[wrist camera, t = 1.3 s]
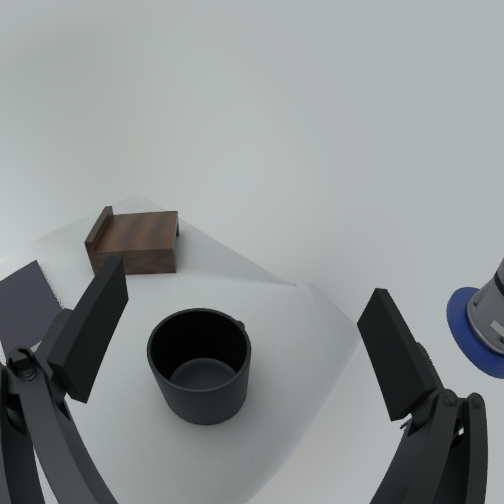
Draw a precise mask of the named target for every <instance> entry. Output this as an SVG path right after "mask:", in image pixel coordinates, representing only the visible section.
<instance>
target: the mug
mask: <svg viewBox="0 0 504 504" xmlns="http://www.w3.org/2000/svg"><path fill="white" fill-rule="evenodd" d="M244 329H245V326H244V324H243V323H242V322H241V321H236V320H235V319H233V318H232V317H231V316H229V315H227V314H225V313H222V312H220V311H217V310H212V309H205V308H194V309H187V310H182V311H179V312H176V313H174V314H172V315H170V316H168V317H167V318H165V319H164V320H162V321H161V322H160V323H159V324H158V325H157V326H156V327H155V329H154V330H153V332H152V333H151V335H150V337H149V340H148V344H147V358H148V362H149V365H150V367H151V369H152V372H153V374H154V376H155V378H156V381H157V383H158V385H159V387H160V389H161V391H162V393H163V395H164V397H165V399H166V401H167V403H168V405H169V407H170V408H171V409H172V411H173V412H174V413H175V414H176V415H178V416H179V417H181V418H182V419H184V420H186V421H188V422H191V423H195V424H201V425H211V424H217V423H220V422H223V421H225V420H227V419H229V418H231V417H232V416H233V415H235V414H236V413H237V412H238V411H239V409H240V408H241V406H242V405H243V403H244V401H245V397H246V391H247V383H248V375H249V367H250V359H251V343H250V340H249V337H248V335H247V333H246V331H245V330H244Z"/></svg>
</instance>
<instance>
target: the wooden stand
mask: <svg viewBox="0 0 504 504" xmlns="http://www.w3.org/2000/svg"><path fill="white" fill-rule="evenodd" d="M176 236H179V223H178V211H164V212H148V213H133V214H119V215H113V210H112V206H107V207H105V208H104V210H103V211H102V213H101V214H100V216H99V218H98V219H97V221H96V223H95V224H94V226H93V228H92V230H91V231H90V233H89V235H88V237H87V238H86V240H85V242H84V243H85V246H86V250H87V253H88V256H89V259H90V262H91V265H92V268H93V271H94V274H95V276H96V274H97V273H98V271H99V270H100V268H101V267H102V265H103V264H104V263H105V261H106V260H107V258H108V257H109V255H110V256H116V257H123V263H124V271H125V275H130V274H155V273H176V259H175V251H174V250H175V240H176Z"/></svg>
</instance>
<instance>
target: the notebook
mask: <svg viewBox="0 0 504 504" xmlns="http://www.w3.org/2000/svg"><path fill="white" fill-rule="evenodd" d="M61 311H62V308H61V307H60V305H59V303H58V301H57V300H56V298H55V296H54V294H53V292H52V290H51V289H50V287H49V285H48V283H47V281H46V279H45V277H44V275H43V273H42V271H41V269H40V267H39V265H38V262H37V260H35V261H33V262H31V263H30V264H28V265H26V266H25V267H23V268H21V269H19V270H18V271H16V272H14V273H13V274H11V275H10V276H8V277H6V278H5V279H3V280H2V281H0V340H1V344H2V347H3V351H4V354H5V357H6V358H7V356H8V354H9V352H10V351H11V350H12V349H13V348H15V347H17V346H26V347H29V348H30V349H31V350H32V352H33V353H34V354H35V352H36V350H37V348H38V346H39V345H40V343H41V341H42V339H43V338H44V336H45V334H46V332H48V329H49V327H50V326H51V325H52V322H53V321H54V319H55V317H56V316H57V315H58V314H59V313H60V312H61Z"/></svg>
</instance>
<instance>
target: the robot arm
mask: <svg viewBox="0 0 504 504" xmlns="http://www.w3.org/2000/svg"><path fill="white" fill-rule="evenodd" d="M128 300H129V299H128V292H127V286H126V279H125V271H124V263H123V257H116V256H110V255H109V257H108V258H107V260H106V261H105V263H104V264H103V265H102V267H101V268H100V270H99V271H98V273H97V274H96V276H95V277H94V279H93V280H92V282H91V283H90V285H89V286H88V288H87V289H86V291H85V292H84V294H83V296H82V297H81V299H80V300H79V302H78V304H77V305H76V307H75V309H74V310H70V309H67V308H65V309H64V310H62V311H61V312H60V313H59V314H58V315H57V316H56V317H55V319H54V321H53V322H52V325H51V326H50V327H49V329H48V332H46V334H45V336H44V338H43V339H42V341H41V343H40V345H39V346H38V348H37V350H36V352H35V354H34V353H33V352H32V350H31V349H30V348H29V347H26V346H17V347H15V348H13V349H12V350H11V351H10V352H9V354H8V356H7V358H6V365H7V366H3V365H2V363H1V362H0V504H45V501H44V497H43V493H42V490H41V485H40V481H39V477H38V472H37V467H36V461H35V455H34V449H35V451H36V454H37V457H38V459H39V462H40V464H41V467H42V469H43V472H44V474H45V476H46V478H47V481H48V483H49V485H50V487H51V489H52V491H53V493H54V495H55V497H56V499H57V501H58V503H59V504H118V503H117V501H116V500H115V498H114V497H113V495H112V494H111V492H110V490H109V489H108V487H107V486H106V484H105V482H104V481H103V479H102V477H101V476H100V474H99V472H98V470H97V469H96V467H95V465H94V463H93V461H92V459H91V457H90V455H89V453H88V451H87V449H86V447H85V445H84V443H83V441H82V439H81V437H80V435H79V432H78V430H77V428H76V426H75V423H74V421H73V418H72V416H71V413H70V411H69V408H68V406H67V403H66V401H65V399H64V397H65V395H66V392H67V393H68V395H69V396H70V397H71V399H74V400H77V401H80V402H83V403H86V404H87V401H88V398H89V395H90V392H91V389H92V387H93V384H94V381H95V378H96V376H97V373H98V370H99V368H100V365H101V363H102V360H103V357H104V355H105V352H106V350H107V348H108V345H109V343H110V340H111V338H112V336H113V333H114V331H115V329H116V326H117V324H118V322H119V319H120V317H121V315H122V313H123V311H124V308H125V306H126V304H127V302H128ZM465 316H466V320H467V323H468V326H469V328H470V330H471V331H472V333H473V335H474V336H475V338H476V339H477V340H478V341H479V343H480V344H481V345H482V346H483V347H484V348H486V349H487V350H488V351H490V352H491V353H493V354H495V355H497V356H501V357H504V258H503V260H502V262H501V264H500V266H499V267H498V269H497V271H496V273H495V275H494V277H493V278H492V279H491V280H490V281H489V282H488V283H487V284H486V285H484V286H483V287H482V288H481V289H480V290H479V291H478V292H476V293H475V294H474V295H473V296H472V297H471V299H470V300H469V302H468V303H467V305H466V308H465ZM357 326H358V329H359V331H360V334H361V336H362V339H363V341H364V344H365V347H366V349H367V352H368V355H369V357H370V360H371V363H372V366H373V368H374V371H375V374H376V377H377V380H378V383H379V386H380V388H381V391H382V394H383V398H384V401H385V404H386V407H387V410H388V413H389V416H390V419H391V421H396V420H400V419H403V418H405V417H406V416H407V415H408V414H409V413H411V415H412V418H411V419H409V420H408V421H407V422H405V423H404V424H403V425H402V426H401V427H400V429H402V428H404V427H405V426H406V425H407V426H406V429H404V434H403V437H402V439H401V442H400V444H399V446H398V449H397V451H396V453H395V456H394V458H393V460H392V462H391V464H390V467H389V468H388V470H387V472H386V474H385V477H384V478H383V481H382V482H381V484H380V486H379V488H378V490H377V491H376V494H375V495H374V497H373V498H372V500H371V502H370V504H484V503H485V494H486V485H487V468H488V466H487V465H488V437H487V420H486V409H485V403H484V400H483V398H482V397H481V395H480V394H478V393H472V394H470V395H469V396H468V397H467V398H459V397H457V395H456V394H455V393H454V392H453V391H452V390H450V389H445V388H444V387H443V384H442V382H441V380H440V378H439V376H438V374H437V372H436V369H435V367H434V366H433V365H432V361H431V359H429V356H428V353H427V351H426V349H425V348H424V347H423V346H422V345H421V344H420V343H419V342H416V341H415V339H414V337H413V335H412V334H411V332H410V330H409V328H408V326H407V324H406V322H405V321H404V319H403V317H402V315H401V313H400V311H399V310H398V308H397V306H396V304H395V303H394V301H393V299H392V298H391V296H390V294H389V292H388V291H387V289H380V288H375V290H374V292H373V294H372V296H371V298H370V300H369V302H368V304H367V306H366V308H365V310H364V312H363V313H362V316H361V317H360V319H359V321H358V322H357ZM462 428H464V429H463V431H464V433H463V434H461V435H459V431H460V430H461V429H462ZM33 446H34V449H33Z"/></svg>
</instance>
